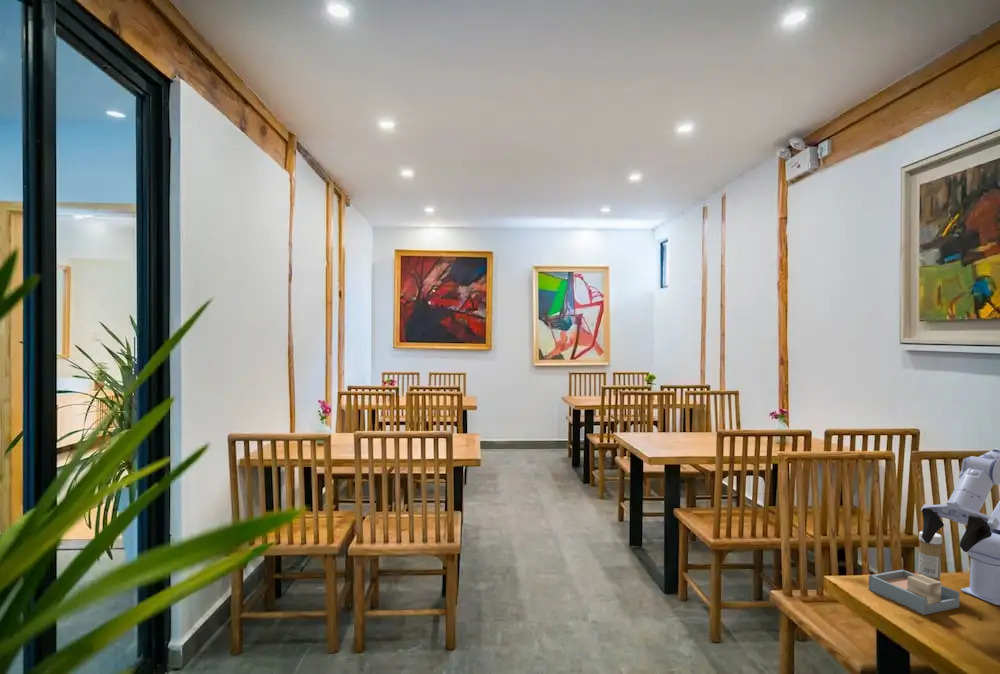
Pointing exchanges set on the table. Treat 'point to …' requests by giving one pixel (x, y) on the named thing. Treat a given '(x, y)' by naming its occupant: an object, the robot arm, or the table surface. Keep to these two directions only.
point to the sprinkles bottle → (930, 557)
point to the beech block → (925, 588)
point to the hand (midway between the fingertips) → (943, 544)
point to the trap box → (896, 589)
